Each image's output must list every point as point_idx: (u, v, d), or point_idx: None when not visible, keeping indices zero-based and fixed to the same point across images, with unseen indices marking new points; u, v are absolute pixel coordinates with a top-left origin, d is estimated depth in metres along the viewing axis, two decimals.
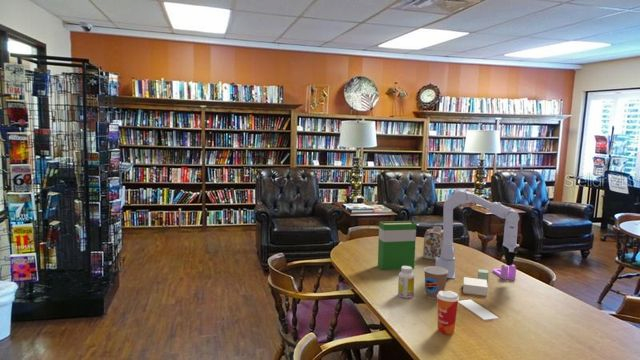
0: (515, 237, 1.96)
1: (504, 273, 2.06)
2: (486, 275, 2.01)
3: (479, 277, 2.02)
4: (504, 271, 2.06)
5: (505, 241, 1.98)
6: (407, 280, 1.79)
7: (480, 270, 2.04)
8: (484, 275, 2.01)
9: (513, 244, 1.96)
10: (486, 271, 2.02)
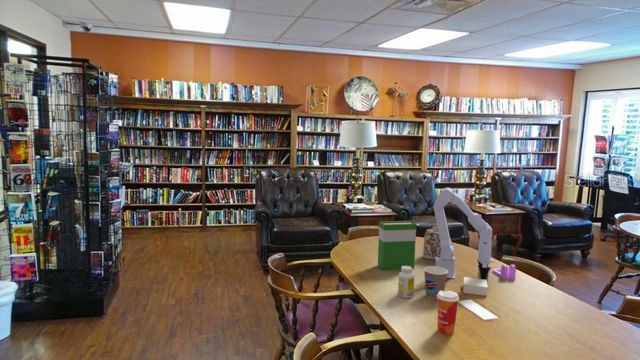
0: (489, 253, 1.99)
1: (504, 273, 2.06)
2: None
3: (479, 277, 2.02)
4: (504, 271, 2.06)
5: (479, 256, 2.01)
6: (407, 280, 1.79)
7: None
8: None
9: (487, 259, 2.00)
10: None
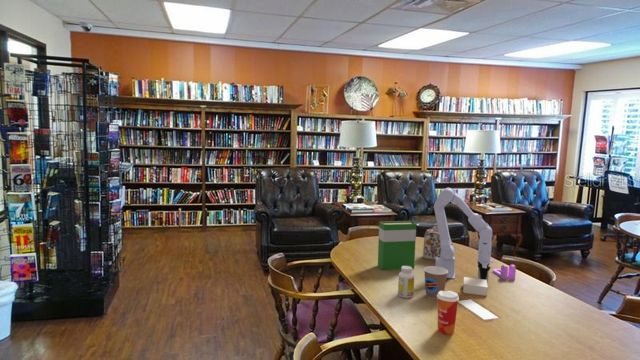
0: (489, 253, 1.99)
1: (504, 273, 2.06)
2: None
3: (479, 277, 2.02)
4: (504, 271, 2.06)
5: (479, 257, 2.01)
6: (407, 280, 1.79)
7: None
8: None
9: (487, 260, 2.00)
10: None
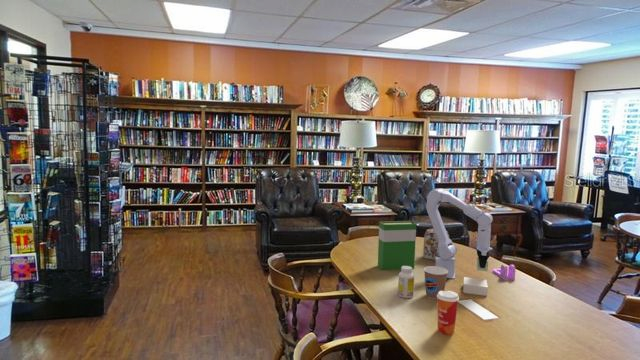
0: (488, 240, 1.95)
1: (503, 273, 2.06)
2: (486, 263, 1.97)
3: (478, 265, 1.98)
4: (503, 271, 2.06)
5: (478, 244, 1.97)
6: (407, 280, 1.79)
7: None
8: None
9: (486, 247, 1.96)
10: None
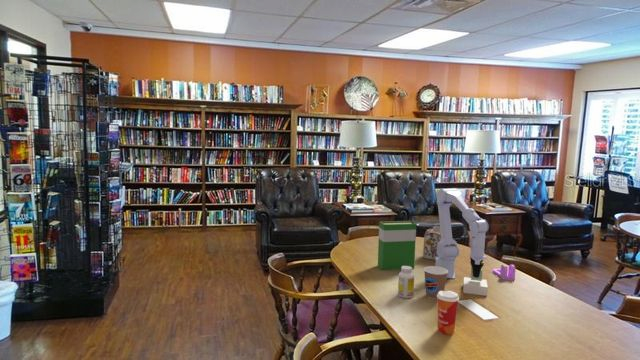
0: (482, 249, 1.86)
1: (503, 273, 2.06)
2: (480, 272, 1.87)
3: (472, 275, 1.88)
4: (503, 271, 2.06)
5: (472, 253, 1.88)
6: (407, 280, 1.79)
7: None
8: None
9: (480, 256, 1.86)
10: None
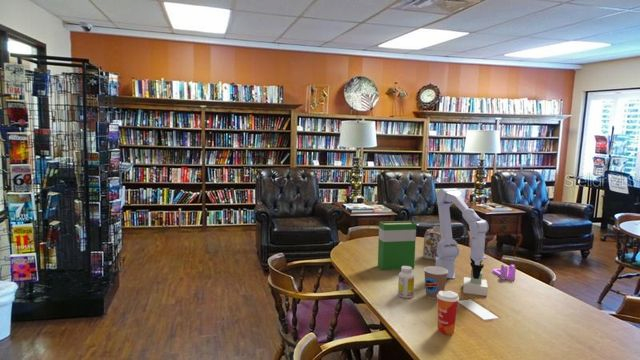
0: (482, 249, 1.86)
1: (503, 273, 2.06)
2: (479, 276, 1.87)
3: (472, 278, 1.88)
4: (504, 271, 2.06)
5: (472, 253, 1.88)
6: (407, 280, 1.79)
7: None
8: None
9: (480, 256, 1.86)
10: None
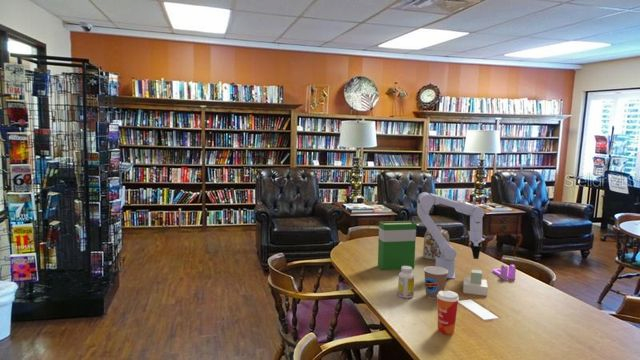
0: (480, 231, 2.04)
1: (504, 273, 2.06)
2: (479, 276, 1.87)
3: (472, 278, 1.88)
4: (504, 271, 2.06)
5: (471, 236, 2.06)
6: (407, 280, 1.79)
7: (473, 270, 1.90)
8: (477, 276, 1.88)
9: (478, 238, 2.04)
10: (479, 271, 1.89)
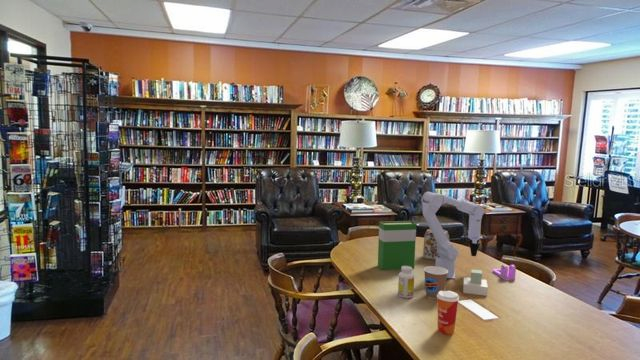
0: (478, 229, 2.09)
1: (504, 273, 2.06)
2: (479, 276, 1.87)
3: (472, 278, 1.88)
4: (504, 271, 2.06)
5: (469, 233, 2.10)
6: (407, 280, 1.79)
7: (473, 270, 1.90)
8: (477, 276, 1.88)
9: (477, 236, 2.09)
10: (479, 271, 1.89)
